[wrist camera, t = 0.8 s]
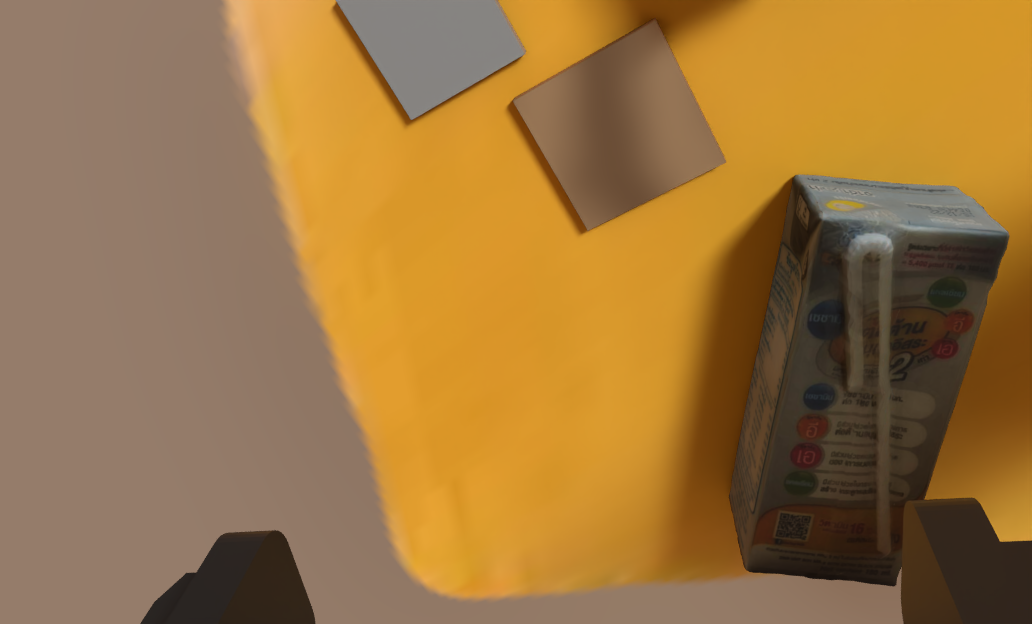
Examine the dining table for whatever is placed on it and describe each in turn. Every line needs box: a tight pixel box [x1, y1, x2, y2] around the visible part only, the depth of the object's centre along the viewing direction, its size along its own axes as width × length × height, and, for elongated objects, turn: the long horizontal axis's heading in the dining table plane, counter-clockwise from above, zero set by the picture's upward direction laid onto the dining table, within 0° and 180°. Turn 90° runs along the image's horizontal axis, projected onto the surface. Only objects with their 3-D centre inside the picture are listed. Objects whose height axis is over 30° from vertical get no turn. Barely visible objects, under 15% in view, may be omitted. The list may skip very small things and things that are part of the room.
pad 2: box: [513, 18, 726, 230], centre depth 39 cm, size 7×7×1 cm
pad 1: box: [336, 0, 526, 120], centre depth 38 cm, size 6×6×1 cm
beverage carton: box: [729, 175, 1009, 586], centre depth 41 cm, size 8×19×7 cm, turn 177°
